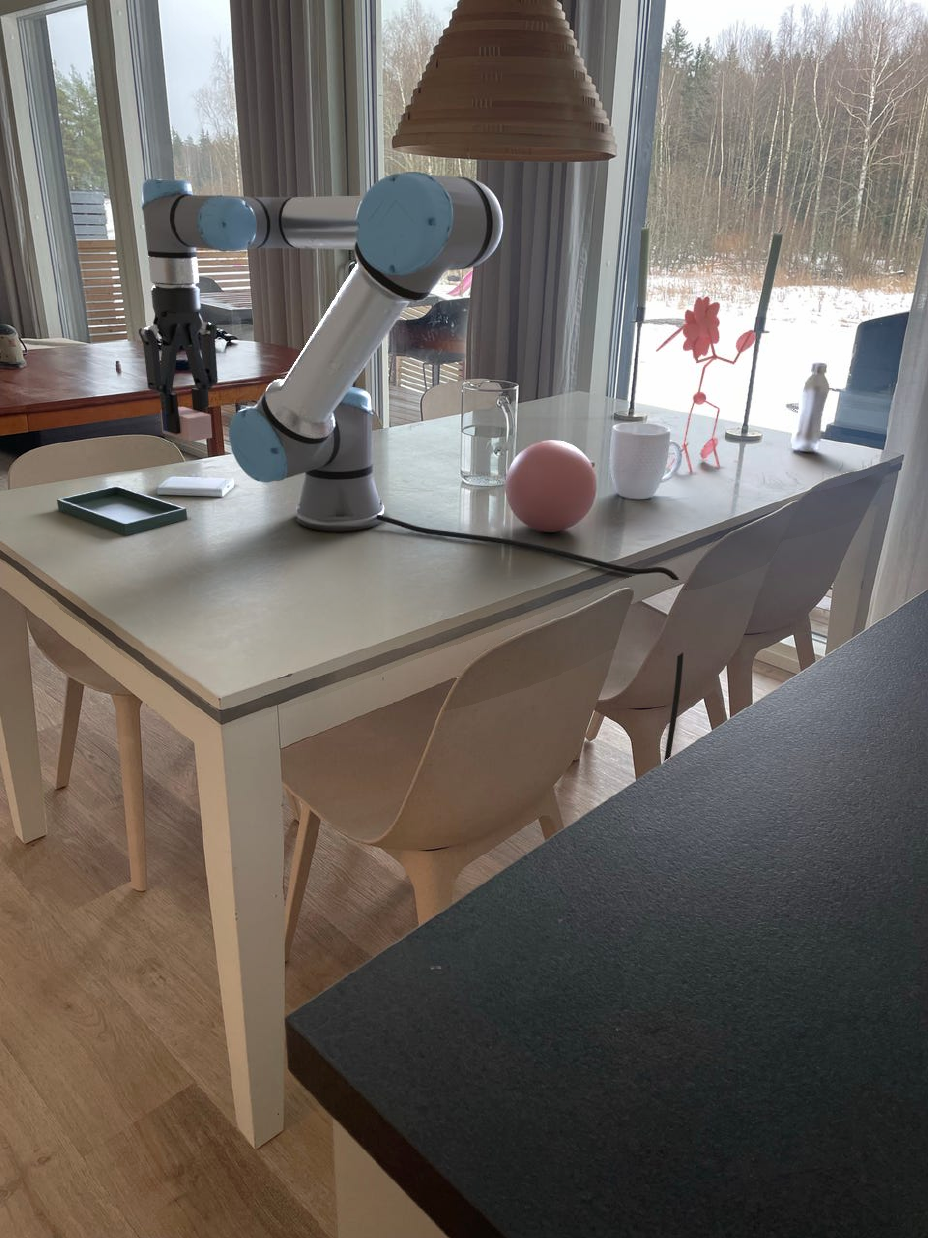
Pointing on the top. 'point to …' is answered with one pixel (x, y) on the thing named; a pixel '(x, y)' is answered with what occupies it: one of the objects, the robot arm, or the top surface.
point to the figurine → (699, 338)
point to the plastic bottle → (811, 409)
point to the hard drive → (195, 486)
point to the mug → (641, 458)
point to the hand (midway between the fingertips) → (187, 429)
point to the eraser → (190, 425)
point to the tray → (122, 510)
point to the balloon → (551, 486)
